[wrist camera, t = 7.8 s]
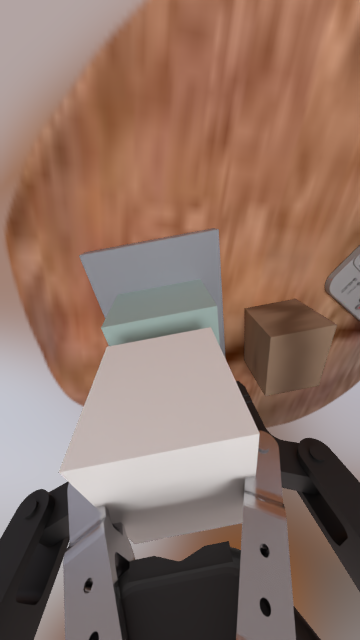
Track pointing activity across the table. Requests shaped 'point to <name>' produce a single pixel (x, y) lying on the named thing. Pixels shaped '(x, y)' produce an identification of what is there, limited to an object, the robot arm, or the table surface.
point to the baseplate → (157, 267)
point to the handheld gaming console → (347, 283)
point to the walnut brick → (286, 345)
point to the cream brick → (164, 438)
